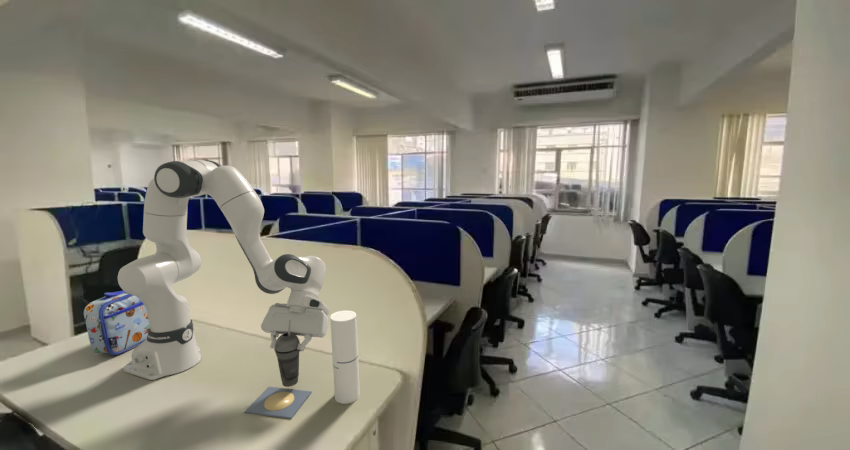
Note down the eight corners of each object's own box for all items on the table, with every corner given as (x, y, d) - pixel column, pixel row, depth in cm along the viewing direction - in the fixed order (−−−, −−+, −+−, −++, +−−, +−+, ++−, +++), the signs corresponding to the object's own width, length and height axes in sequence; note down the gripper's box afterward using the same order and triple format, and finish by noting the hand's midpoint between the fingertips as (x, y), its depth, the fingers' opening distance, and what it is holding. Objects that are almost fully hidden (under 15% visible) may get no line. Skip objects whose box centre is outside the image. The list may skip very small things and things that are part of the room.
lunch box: (108, 364, 120) (97, 303, 116) (84, 360, 122) (72, 300, 118) (178, 327, 146) (171, 277, 143) (158, 325, 148) (150, 275, 145)
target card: (244, 412, 96) (244, 411, 96) (268, 387, 107) (268, 386, 107) (291, 418, 94) (291, 417, 94) (311, 392, 104) (311, 391, 104)
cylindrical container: (353, 405, 99) (350, 322, 94) (330, 402, 100) (325, 320, 96) (363, 389, 106) (360, 311, 101) (341, 386, 107) (337, 309, 103)
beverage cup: (281, 375, 109) (277, 315, 106) (305, 374, 110) (301, 314, 106) (273, 390, 102) (268, 326, 99) (299, 389, 103) (294, 325, 99)
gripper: (266, 298, 110) (249, 343, 103) (327, 303, 107) (314, 349, 99) (276, 306, 115) (260, 349, 108) (334, 310, 112) (322, 355, 104)
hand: (286, 349), depth 103 cm, fingers closed on beverage cup, 7 cm apart
